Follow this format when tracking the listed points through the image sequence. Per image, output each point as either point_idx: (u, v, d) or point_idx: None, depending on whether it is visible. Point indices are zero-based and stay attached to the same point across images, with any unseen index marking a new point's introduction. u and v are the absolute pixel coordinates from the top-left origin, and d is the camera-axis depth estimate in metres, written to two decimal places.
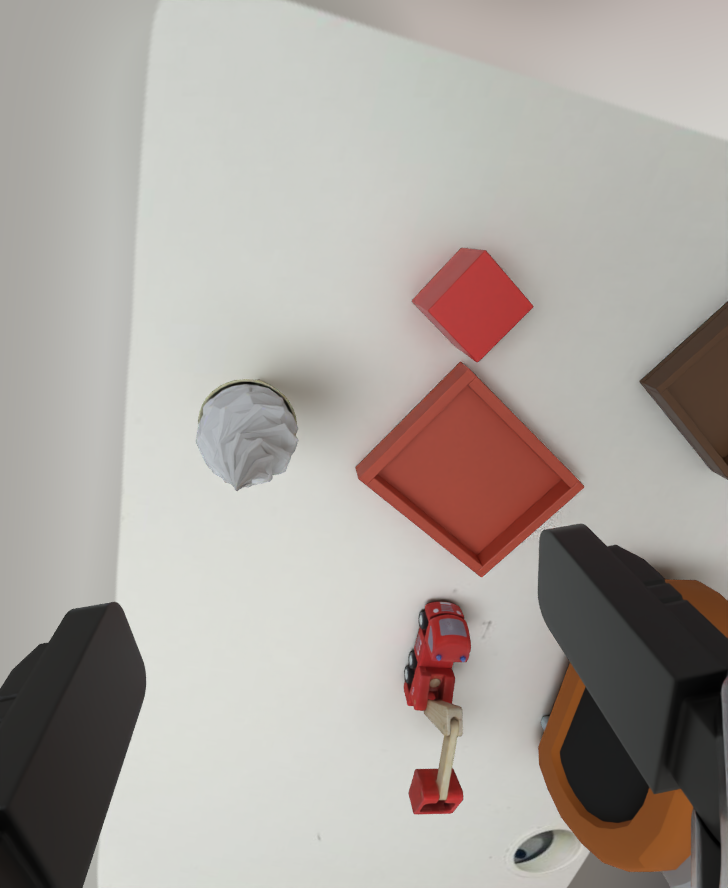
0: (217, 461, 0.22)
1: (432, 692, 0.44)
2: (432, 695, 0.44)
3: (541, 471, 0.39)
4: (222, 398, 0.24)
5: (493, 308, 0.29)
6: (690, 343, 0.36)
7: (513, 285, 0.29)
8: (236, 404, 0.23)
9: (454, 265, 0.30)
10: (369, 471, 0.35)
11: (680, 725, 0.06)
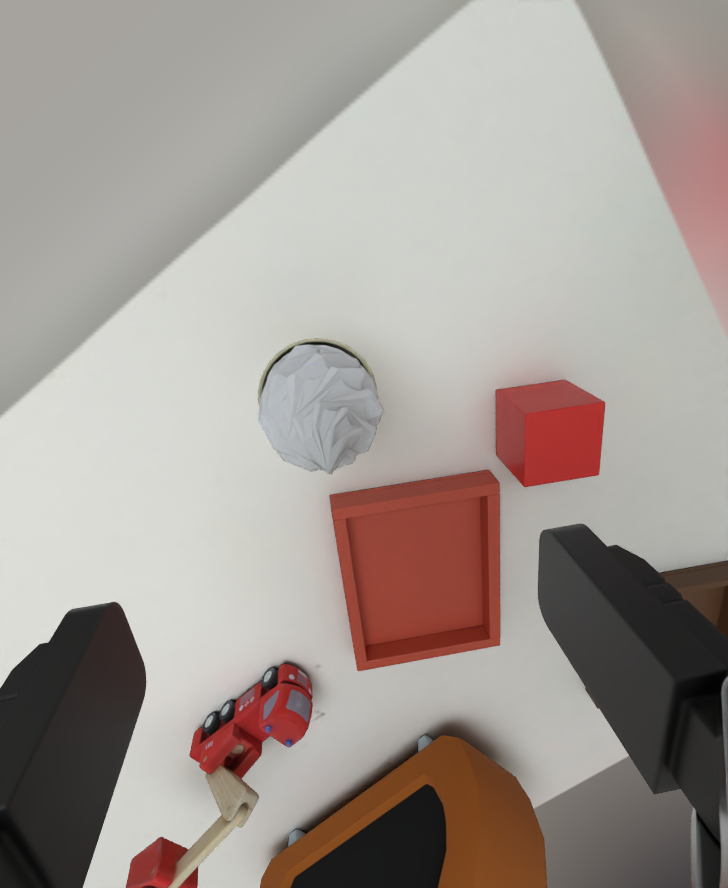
0: (300, 419, 0.17)
1: None
2: None
3: (473, 607, 0.37)
4: (333, 355, 0.19)
5: (572, 452, 0.28)
6: None
7: (600, 446, 0.28)
8: (348, 373, 0.19)
9: (559, 391, 0.29)
10: (346, 510, 0.31)
11: (679, 726, 0.06)
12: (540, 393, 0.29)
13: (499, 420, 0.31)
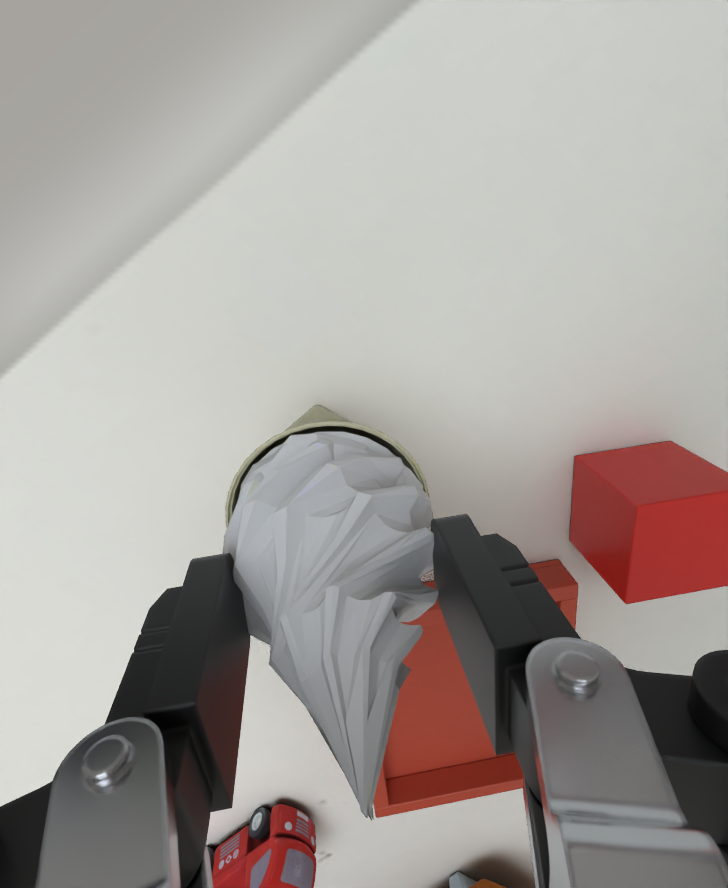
0: (297, 620, 0.08)
1: None
2: None
3: None
4: (359, 461, 0.10)
5: (698, 556, 0.19)
6: None
7: None
8: (389, 500, 0.10)
9: (671, 462, 0.21)
10: None
11: (507, 691, 0.07)
12: (644, 465, 0.21)
13: (579, 498, 0.22)
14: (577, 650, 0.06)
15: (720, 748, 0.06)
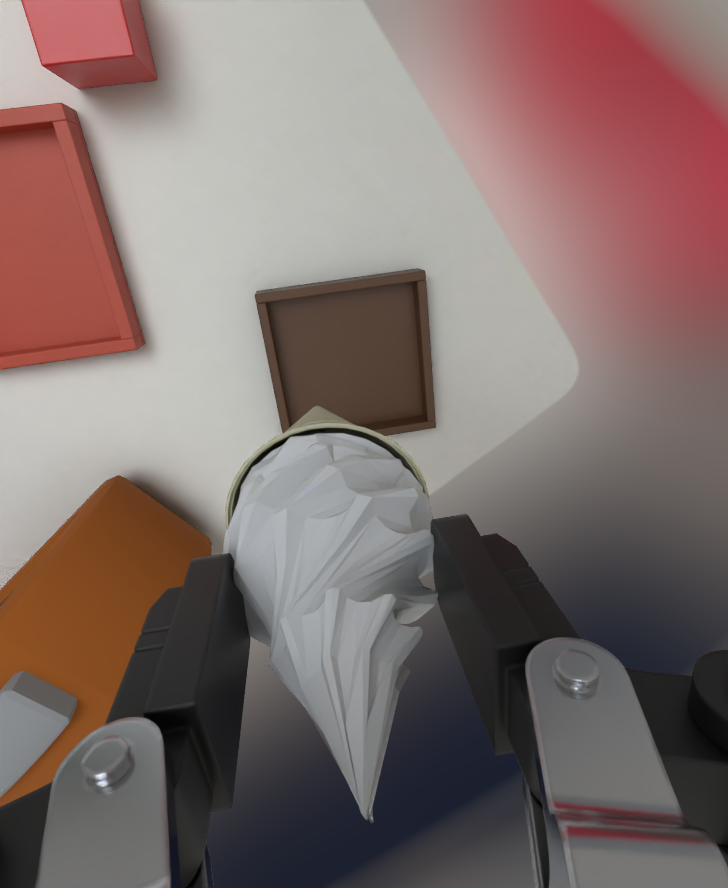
0: (297, 622, 0.08)
1: None
2: None
3: (109, 309, 0.33)
4: (359, 463, 0.10)
5: (87, 15, 0.24)
6: (315, 284, 0.34)
7: (120, 8, 0.24)
8: (389, 502, 0.10)
9: None
10: None
11: (508, 691, 0.07)
12: None
13: None
14: (577, 650, 0.06)
15: (720, 748, 0.06)
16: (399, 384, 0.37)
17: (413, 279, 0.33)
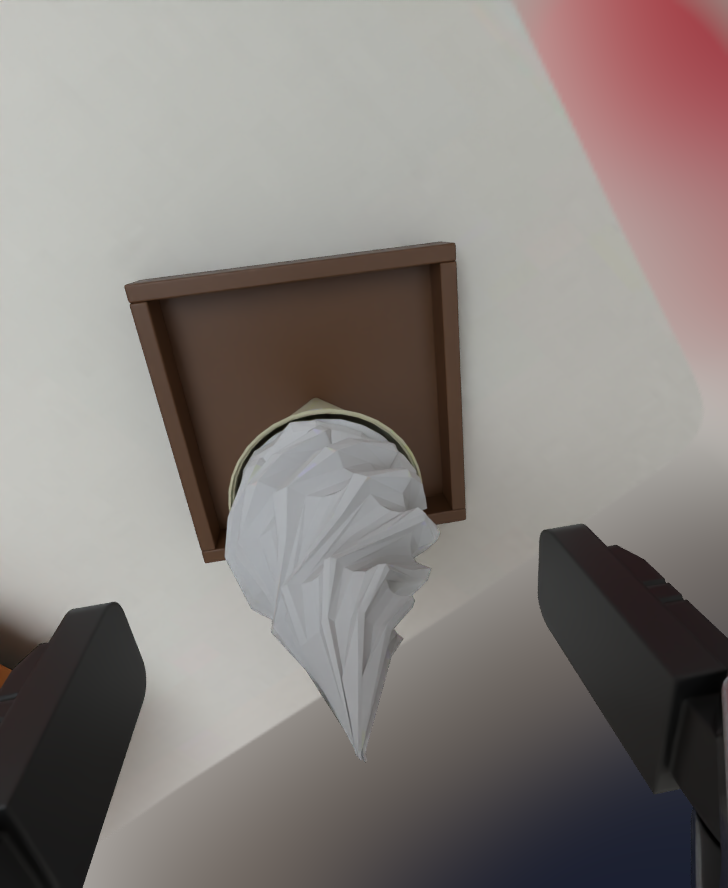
0: (297, 589, 0.09)
1: None
2: None
3: None
4: (356, 446, 0.11)
5: None
6: (248, 267, 0.18)
7: None
8: (384, 482, 0.11)
9: None
10: None
11: (678, 726, 0.06)
12: None
13: None
14: None
15: None
16: None
17: (432, 259, 0.17)
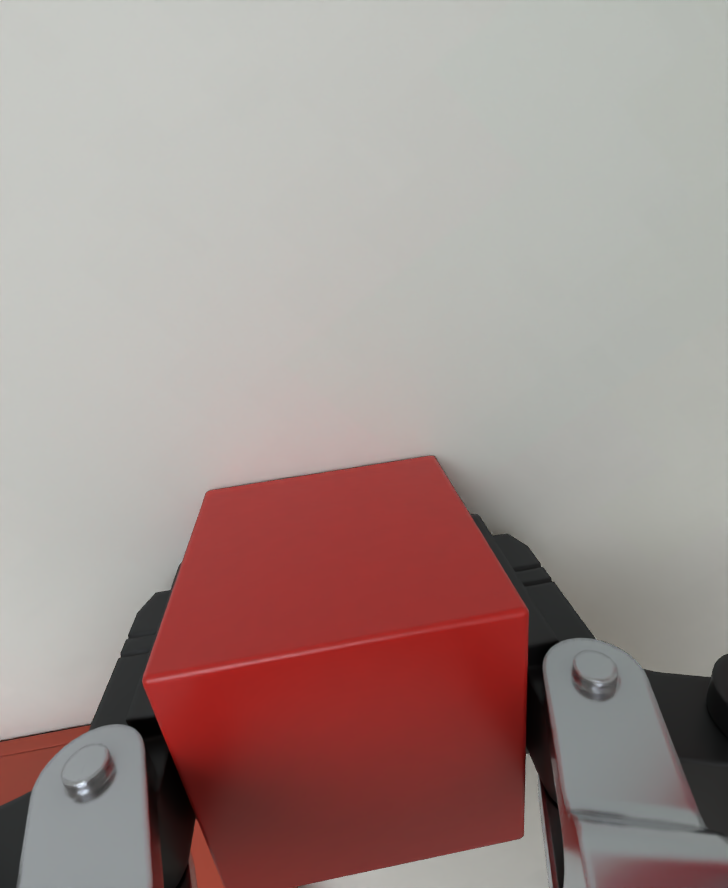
0: None
1: None
2: None
3: None
4: None
5: (406, 789, 0.07)
6: None
7: (519, 760, 0.07)
8: None
9: (382, 514, 0.08)
10: None
11: None
12: (315, 521, 0.08)
13: None
14: (594, 651, 0.06)
15: None
16: None
17: None
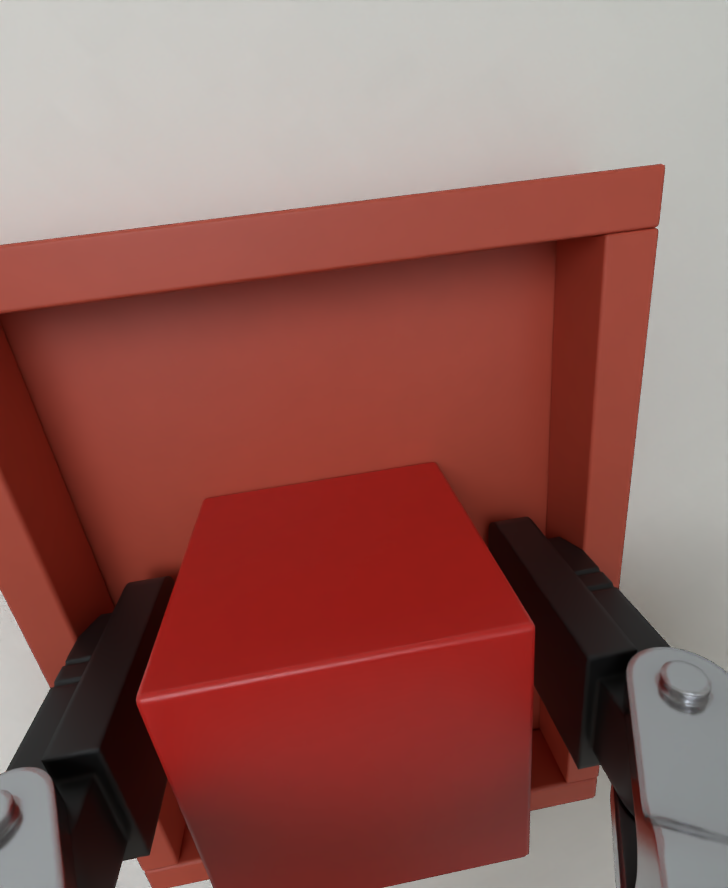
0: None
1: None
2: None
3: None
4: None
5: (408, 808, 0.07)
6: None
7: (525, 778, 0.07)
8: None
9: (383, 523, 0.08)
10: None
11: (596, 703, 0.07)
12: (314, 531, 0.08)
13: None
14: (681, 661, 0.06)
15: None
16: None
17: None
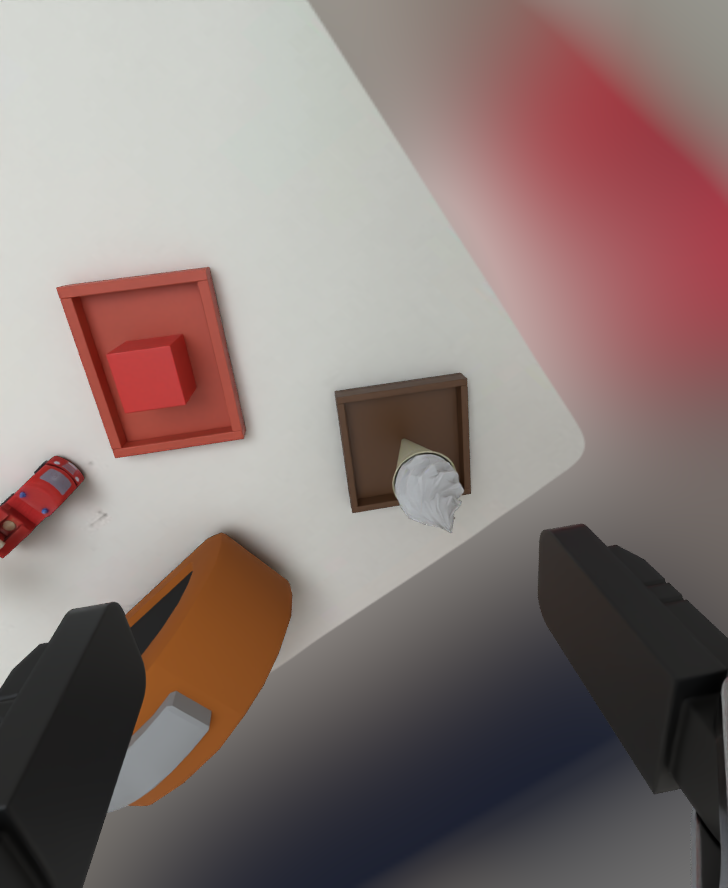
0: (429, 502, 0.34)
1: (3, 537, 0.42)
2: (1, 540, 0.43)
3: (222, 406, 0.42)
4: (439, 463, 0.36)
5: (156, 385, 0.37)
6: (381, 386, 0.43)
7: (178, 381, 0.37)
8: (448, 474, 0.36)
9: (159, 340, 0.38)
10: (70, 288, 0.36)
11: (680, 726, 0.06)
12: (145, 342, 0.38)
13: None
14: None
15: None
16: None
17: (457, 385, 0.43)
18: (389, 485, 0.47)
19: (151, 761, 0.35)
